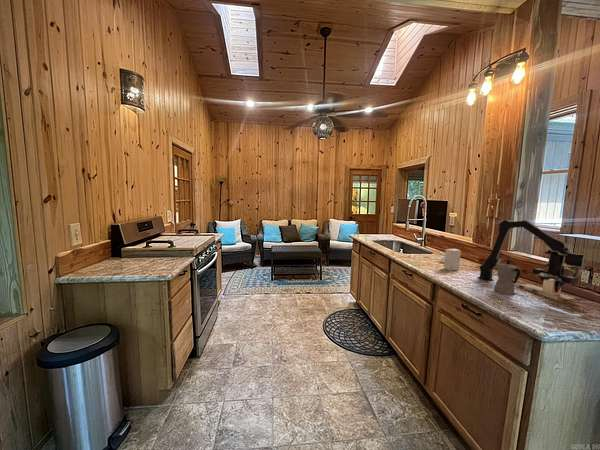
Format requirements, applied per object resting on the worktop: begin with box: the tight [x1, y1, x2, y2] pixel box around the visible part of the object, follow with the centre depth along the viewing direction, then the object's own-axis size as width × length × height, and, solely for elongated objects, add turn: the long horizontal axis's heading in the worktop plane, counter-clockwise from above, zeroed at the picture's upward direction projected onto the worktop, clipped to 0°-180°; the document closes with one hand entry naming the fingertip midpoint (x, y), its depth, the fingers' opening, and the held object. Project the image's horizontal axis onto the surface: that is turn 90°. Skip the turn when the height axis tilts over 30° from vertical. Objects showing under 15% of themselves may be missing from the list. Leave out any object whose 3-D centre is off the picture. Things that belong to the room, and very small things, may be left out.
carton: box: [541, 278, 562, 295], centre depth 147 cm, size 4×6×7 cm
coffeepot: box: [493, 260, 521, 296], centre depth 147 cm, size 15×9×18 cm, turn 179°
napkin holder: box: [440, 255, 445, 263], centre depth 212 cm, size 15×11×6 cm
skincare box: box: [443, 248, 462, 271], centre depth 192 cm, size 8×6×15 cm
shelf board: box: [514, 282, 574, 301], centre depth 149 cm, size 14×22×3 cm, turn 14°
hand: (551, 290), depth 147 cm, fingers closed on carton, 4 cm apart
